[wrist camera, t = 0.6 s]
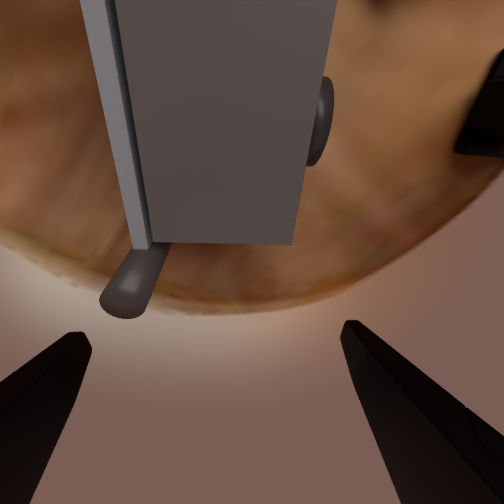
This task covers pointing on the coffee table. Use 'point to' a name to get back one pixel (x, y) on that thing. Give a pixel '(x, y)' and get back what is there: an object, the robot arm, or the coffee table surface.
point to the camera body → (227, 112)
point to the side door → (123, 166)
